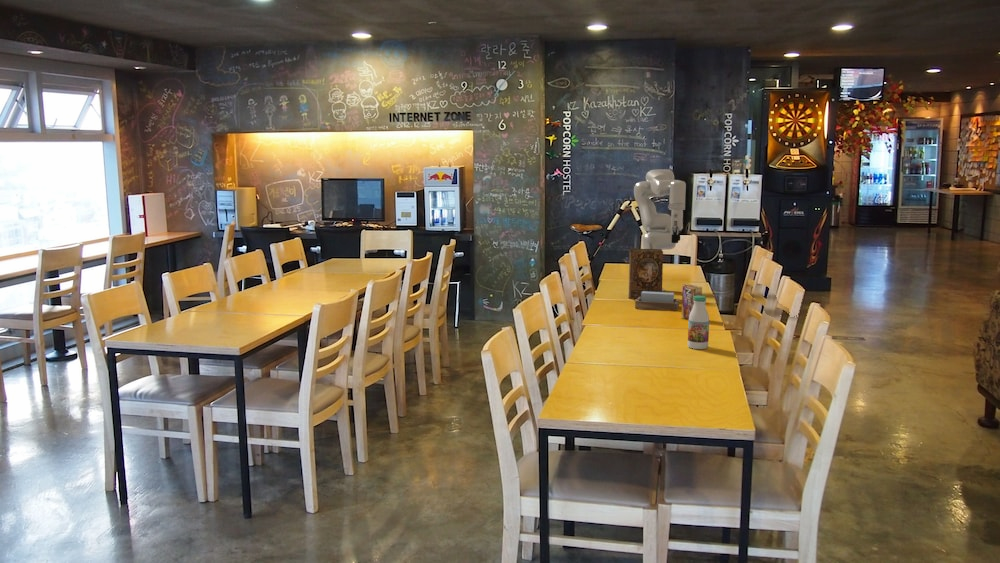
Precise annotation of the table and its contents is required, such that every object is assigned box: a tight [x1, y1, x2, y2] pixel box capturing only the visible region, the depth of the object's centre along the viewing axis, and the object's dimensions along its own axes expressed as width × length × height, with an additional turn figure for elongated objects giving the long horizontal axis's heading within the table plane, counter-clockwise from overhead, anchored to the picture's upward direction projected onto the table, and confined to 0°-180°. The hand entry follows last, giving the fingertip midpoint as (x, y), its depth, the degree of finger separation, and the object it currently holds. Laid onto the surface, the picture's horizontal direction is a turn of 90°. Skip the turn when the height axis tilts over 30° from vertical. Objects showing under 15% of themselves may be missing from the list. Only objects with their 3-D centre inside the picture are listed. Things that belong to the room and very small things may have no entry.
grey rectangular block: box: [641, 291, 675, 303], centre depth 380 cm, size 15×5×4 cm, turn 73°
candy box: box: [681, 283, 703, 321], centre depth 353 cm, size 9×4×15 cm, turn 26°
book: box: [628, 248, 664, 300], centre depth 401 cm, size 16×6×25 cm, turn 84°
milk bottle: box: [687, 295, 710, 350], centre depth 303 cm, size 8×8×20 cm
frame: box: [634, 297, 680, 312], centre depth 380 cm, size 12×19×4 cm, turn 73°
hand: (675, 241), depth 388 cm, fingers open, 9 cm apart
